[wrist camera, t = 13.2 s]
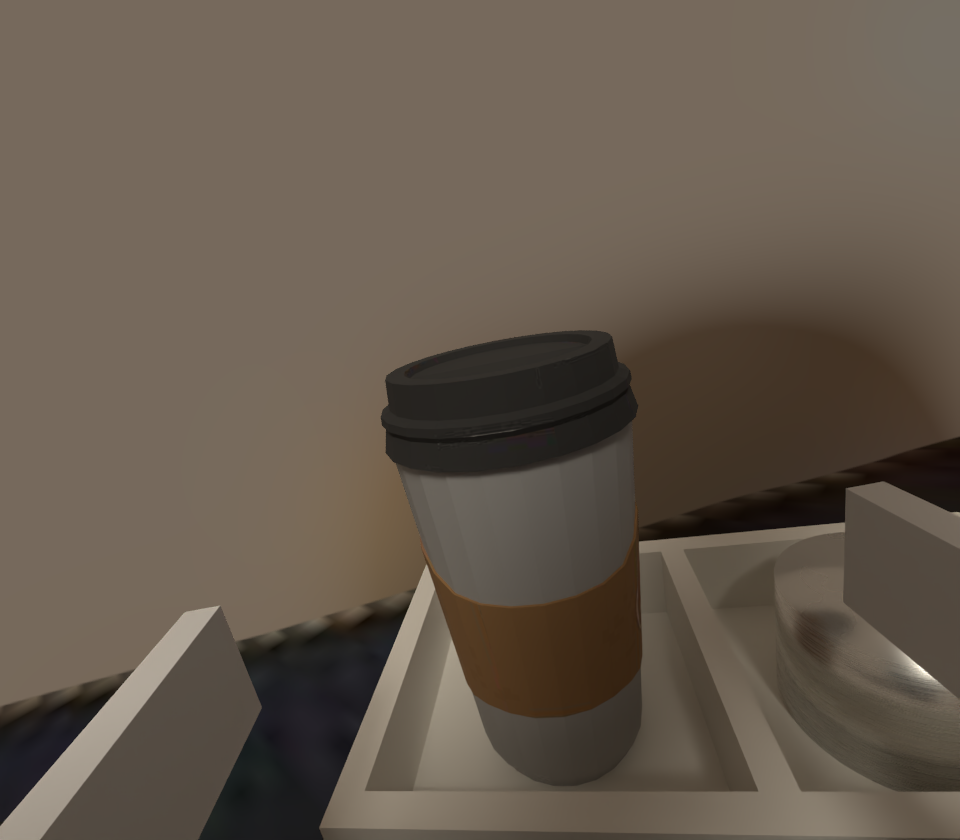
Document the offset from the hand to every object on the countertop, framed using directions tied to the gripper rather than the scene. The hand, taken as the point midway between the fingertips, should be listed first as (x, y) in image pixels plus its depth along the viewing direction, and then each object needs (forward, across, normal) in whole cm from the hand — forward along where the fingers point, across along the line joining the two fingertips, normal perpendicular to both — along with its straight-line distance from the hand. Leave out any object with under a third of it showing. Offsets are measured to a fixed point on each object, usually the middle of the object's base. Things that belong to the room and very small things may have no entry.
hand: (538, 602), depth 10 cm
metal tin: (+5, +12, -11) cm, 17 cm away
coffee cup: (+7, 0, -11) cm, 13 cm away
